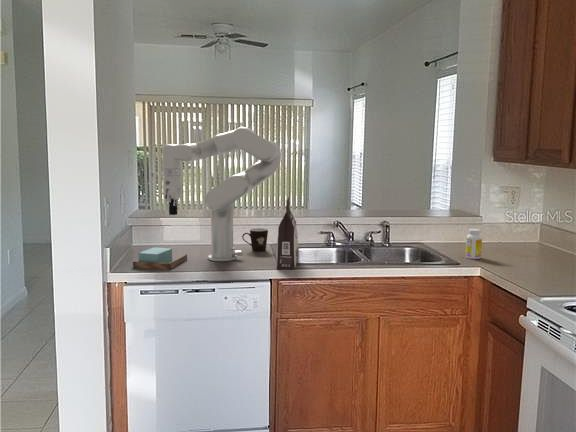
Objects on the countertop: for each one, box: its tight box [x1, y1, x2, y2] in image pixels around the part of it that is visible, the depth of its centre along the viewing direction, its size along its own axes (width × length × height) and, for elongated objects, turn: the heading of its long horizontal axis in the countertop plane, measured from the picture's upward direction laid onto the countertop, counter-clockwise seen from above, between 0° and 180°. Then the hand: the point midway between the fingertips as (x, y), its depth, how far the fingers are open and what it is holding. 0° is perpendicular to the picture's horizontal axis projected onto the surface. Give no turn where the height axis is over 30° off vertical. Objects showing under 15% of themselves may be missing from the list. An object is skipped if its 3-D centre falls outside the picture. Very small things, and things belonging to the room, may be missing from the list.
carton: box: [138, 247, 173, 263], centre depth 218 cm, size 8×12×6 cm
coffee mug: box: [241, 227, 269, 253], centre depth 247 cm, size 12×9×10 cm
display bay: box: [132, 253, 188, 271], centre depth 219 cm, size 16×18×2 cm
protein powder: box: [275, 196, 299, 270], centre depth 218 cm, size 16×9×28 cm, turn 177°
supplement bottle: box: [465, 228, 483, 260], centre depth 234 cm, size 7×7×13 cm
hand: (173, 214), depth 230 cm, fingers closed
